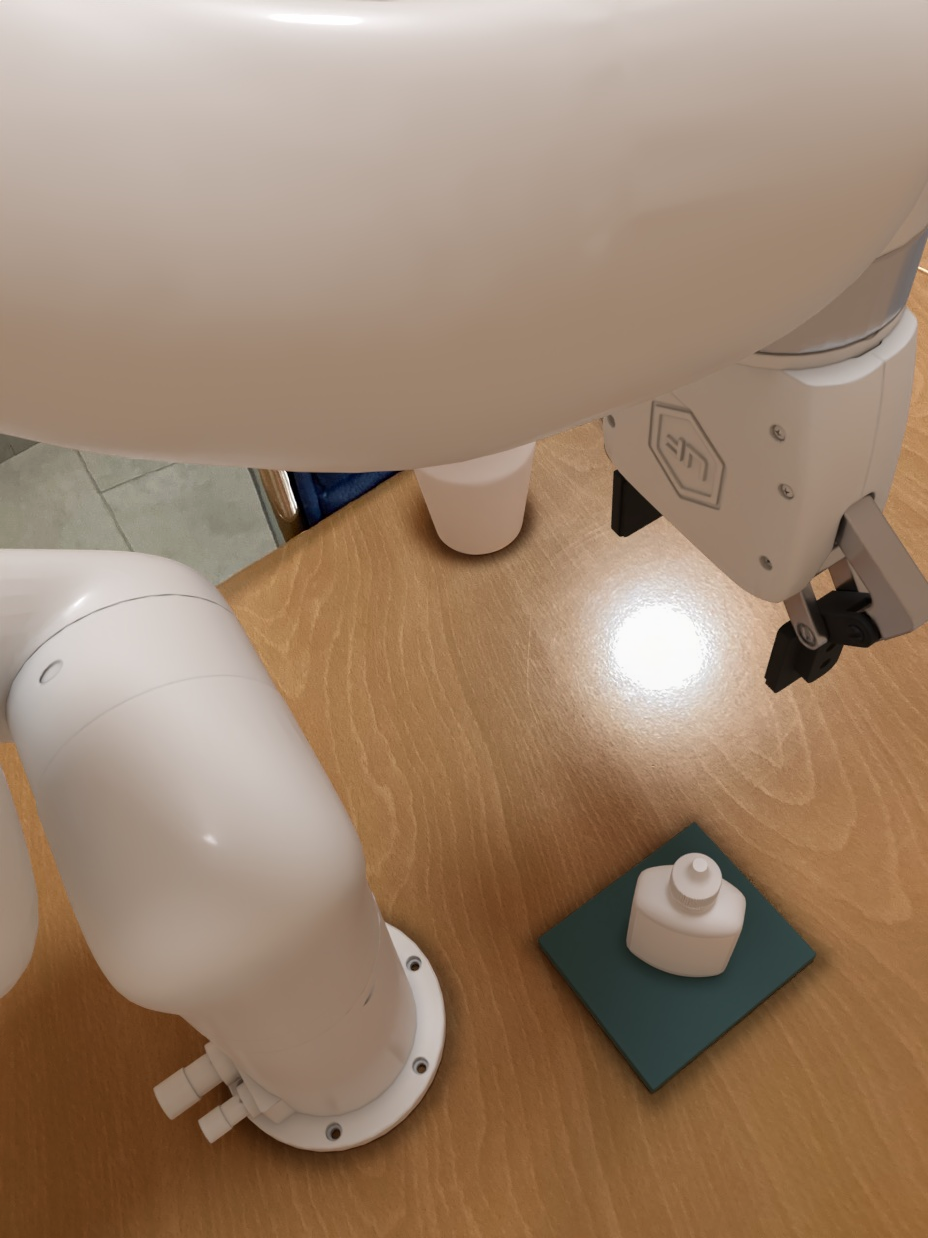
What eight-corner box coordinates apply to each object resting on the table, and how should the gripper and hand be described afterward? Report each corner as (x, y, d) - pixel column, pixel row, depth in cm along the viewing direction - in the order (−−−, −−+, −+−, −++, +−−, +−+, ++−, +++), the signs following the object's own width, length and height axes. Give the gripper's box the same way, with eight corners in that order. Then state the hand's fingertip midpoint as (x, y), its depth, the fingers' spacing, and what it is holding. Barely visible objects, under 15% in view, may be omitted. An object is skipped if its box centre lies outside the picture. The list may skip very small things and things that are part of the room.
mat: (651, 1094, 56) (653, 1090, 56) (537, 944, 61) (536, 939, 61) (814, 959, 60) (817, 954, 59) (692, 827, 65) (694, 821, 64)
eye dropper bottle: (691, 1010, 58) (718, 939, 48) (613, 938, 60) (624, 857, 50) (741, 952, 59) (777, 872, 49) (663, 885, 62) (682, 796, 52)
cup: (560, 503, 80) (560, 384, 70) (498, 587, 76) (489, 473, 66) (460, 461, 84) (447, 342, 74) (396, 539, 80) (373, 424, 70)
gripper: (505, 159, 34) (525, 506, 48) (918, 482, 25) (794, 792, 39) (688, 74, 36) (655, 432, 50) (1132, 347, 27) (940, 689, 41)
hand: (716, 590), depth 44 cm, fingers open, 9 cm apart
